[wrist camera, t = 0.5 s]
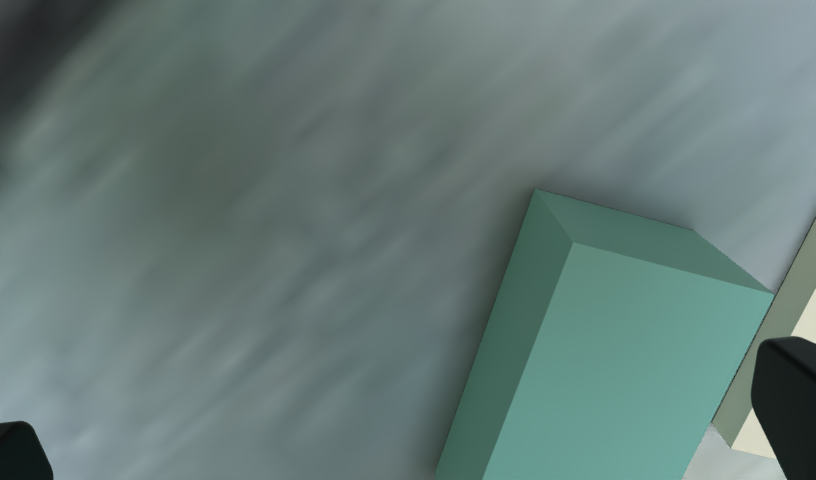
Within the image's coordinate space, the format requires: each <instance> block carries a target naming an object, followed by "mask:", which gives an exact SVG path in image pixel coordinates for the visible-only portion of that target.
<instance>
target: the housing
mask: <svg viewBox="0 0 816 480" xmlns="http://www.w3.org/2000/svg"><path fill="white" fill-rule="evenodd" d="M774 296H775V294H774V293H772V292H771V291H770V290H769V289H767V288H766V287H765V286H763V285H762V284H761V283H760V282H758V281H757V280H756V279H755V278H753V277H752V276H751V275H750V274H748V273H747V272H746V271H745V270H743V269H742V268H741V267H739V266H738V265H737V264H736V263H734V262H733V261H732V260H731V259H729V258H728V257H727V256H726V255H724V254H723V253H722V252H721V251H719V250H718V249H717V248H715V247H714V246H713V245H712V244H710V243H709V242H708V241H707V240H705V239H704V238H703V237H702V236H700V235H699V234H698V233H697V232H695V231H693V230H689V229H685V228H682V227H678V226H674V225H670V224H667V223H663V222H659V221H655V220H652V219H648V218H644V217H640V216H637V215H633V214H629V213H625V212H622V211H618V210H614V209H610V208H607V207H603V206H599V205H596V204H592V203H588V202H584V201H581V200H577V199H573V198H569V197H566V196H562V195H558V194H554V193H551V192H547V191H543V190H539V189H536V188H535V190H534V192H533V195H532V198H531V201H530V204H529V207H528V210H527V212H526V215H525V218H524V221H523V224H522V227H521V229H520V232H519V235H518V238H517V241H516V244H515V246H514V249H513V252H512V255H511V258H510V261H509V263H508V266H507V269H506V272H505V275H504V278H503V281H502V283H501V286H500V289H499V292H498V295H497V298H496V300H495V303H494V306H493V309H492V312H491V315H490V317H489V320H488V323H487V326H486V329H485V332H484V335H483V337H482V340H481V343H480V346H479V349H478V352H477V354H476V357H475V360H474V363H473V366H472V369H471V371H470V374H469V377H468V380H467V383H466V386H465V388H464V391H463V394H462V397H461V400H460V403H459V406H458V408H457V411H456V414H455V417H454V420H453V423H452V425H451V428H450V431H449V434H448V437H447V440H446V442H445V445H444V448H443V451H442V454H441V457H440V459H439V462H438V465H437V468H436V471H435V480H681V479H682V477H683V475H684V473H685V471H686V469H687V467H688V465H689V463H690V461H691V459H692V457H693V455H694V453H695V451H696V449H697V447H698V445H699V443H700V441H701V439H702V437H703V435H704V433H705V431H706V430H707V428H708V426H709V424H710V422H711V420H712V418H713V416H714V414H715V412H716V410H717V408H718V406H719V404H720V402H721V400H722V398H723V396H724V394H725V392H726V390H727V388H728V386H729V384H730V382H731V380H732V379H733V377H734V375H735V373H736V371H737V369H738V367H739V365H740V363H741V361H742V359H743V357H744V355H745V353H746V351H747V349H748V347H749V345H750V343H751V341H752V339H753V337H754V335H755V333H756V331H757V329H758V327H759V326H760V324H761V322H762V320H763V318H764V316H765V314H766V312H767V310H768V308H769V306H770V304H771V302H772V300H773V298H774Z"/></svg>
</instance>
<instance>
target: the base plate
mask: <svg viewBox="0 0 816 480" xmlns="http://www.w3.org/2000/svg"><path fill="white" fill-rule="evenodd" d="M787 336H798V337H802V338H804V339H806V340H809V341H811V342H813V343H816V219H815V221H814V223H813V225H812V227H811V229H810V231H809V233H808V235H807V237H806V239H805V241H804V243H803V245H802V247H801V249H800V251H799V253H798V255H797V256H796V258H795V260H794V262H793V264H792V266H791V268H790V270H789V272H788V274H787V276H786V278H785V280H784V282H783V284H782V286H781V288H780V290H779V292H778V294H777V296H776V298H775V300H774V302H773V303H772V305H771V307H770V309H769V311H768V313H767V315H766V317H765V319H764V321H763V323H762V325H761V327H760V329H759V331H758V333H757V335H756V337H755V339H754V341H753V343H752V345H751V347H750V349H749V351H748V352H747V354H746V356H745V358H744V360H743V362H742V364H741V366H740V368H739V370H738V372H737V374H736V376H735V378H734V380H733V382H732V384H731V386H730V388H729V390H728V392H727V394H726V396H725V398H724V399H723V401H722V403H721V405H720V407H719V409H718V411H717V413H716V415H715V417H714V419H713V421H712V424H713V425H714V426H715V428H716V429H717V431H718V432H719V433H720V435H721V436H722V437H723V439H724V440H725V441H726V443H727V444H728V445H729V447H730V448H731V449H735V450H739V451H744V452H748V453H752V454H756V455H761V456H765V457H769V458H774V459H777V458H776V456H775V454H774V452H773V450H772V448H771V446H770V444H769V442H768V440H767V438H766V436H765V434H764V431H763V429H762V427H761V425H760V423H759V421H758V419H757V417H756V415H755V413H754V410H753V407H752V403H751V386H752V379H753V373H754V367H755V361H756V355H757V350H758V347H759V345H760V343H761V342H762V341H764V340H765V339H769V338H778V337H787Z"/></svg>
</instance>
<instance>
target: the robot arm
mask: <svg viewBox="0 0 816 480" xmlns="http://www.w3.org/2000/svg"><path fill="white" fill-rule="evenodd" d="M751 403H752V407H753V410H754V413H755V415H756V417H757V419H758V421H759V423H760V425H761V427H762V429H763V431H764V434H765V436H766V438H767V440H768V442H769V444H770V446H771V448H772V450H773V452H774V454H775V456H776V458H777V460H778V462H779V464H780V466H781V468H782V470H783V472H784V475H785V477H786V479H787V480H816V343H813V342H811V341H809V340H806V339H804V338H802V337H798V336H787V337H778V338H769V339H765V340H764V341H762V342H761V343H760V345H759V347H758V350H757V355H756V361H755V367H754V373H753V379H752V386H751ZM0 480H53V471H52V468H51V465H50V463H49V461H48V459H47V457H46V454H45V452H44V450H43V448H42V446H41V444H40V441H39V439H38V437H37V435H36V433H35V431H34V429H33V427H32V426H31V425H30V424H29V423H27V422H24V421H14V422H5V423H0Z"/></svg>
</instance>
